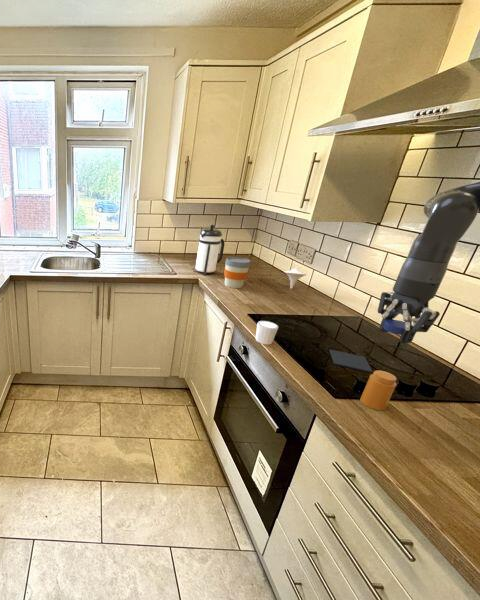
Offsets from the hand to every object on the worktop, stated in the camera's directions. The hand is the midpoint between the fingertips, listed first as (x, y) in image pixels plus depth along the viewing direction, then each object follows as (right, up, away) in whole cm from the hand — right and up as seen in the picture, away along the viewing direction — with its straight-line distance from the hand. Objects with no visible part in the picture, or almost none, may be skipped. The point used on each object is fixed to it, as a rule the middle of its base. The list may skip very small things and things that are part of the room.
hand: (393, 336), depth 84 cm
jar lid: (0, +3, -1) cm, 3 cm away
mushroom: (+33, +16, +90) cm, 97 cm away
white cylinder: (-13, -6, +36) cm, 39 cm away
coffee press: (-3, +28, +118) cm, 121 cm away
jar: (-2, -19, +4) cm, 20 cm away
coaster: (+9, -11, +24) cm, 28 cm away
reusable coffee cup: (+3, +18, +95) cm, 96 cm away
